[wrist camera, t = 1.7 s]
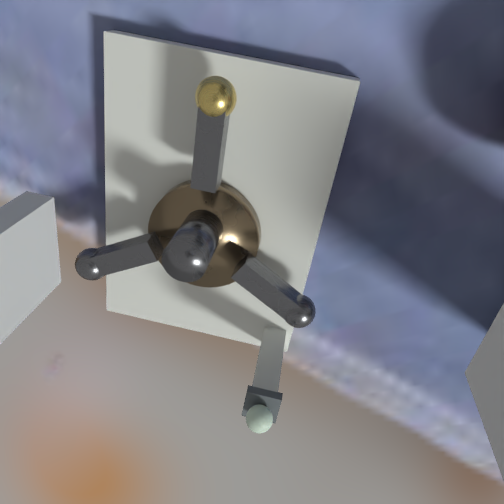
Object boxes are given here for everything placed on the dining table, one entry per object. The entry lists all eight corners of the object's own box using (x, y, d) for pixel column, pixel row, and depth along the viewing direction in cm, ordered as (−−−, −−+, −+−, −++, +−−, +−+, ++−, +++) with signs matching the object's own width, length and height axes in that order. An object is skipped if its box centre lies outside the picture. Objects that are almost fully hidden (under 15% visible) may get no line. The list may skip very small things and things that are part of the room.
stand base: (113, 30, 28) (6, 41, 19) (359, 78, 27) (373, 115, 18) (113, 300, 39) (45, 392, 30) (288, 340, 39) (274, 448, 29)
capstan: (87, 42, 27) (25, 51, 22) (373, 99, 26) (384, 124, 21) (93, 257, 35) (49, 304, 30) (312, 307, 34) (308, 365, 29)
